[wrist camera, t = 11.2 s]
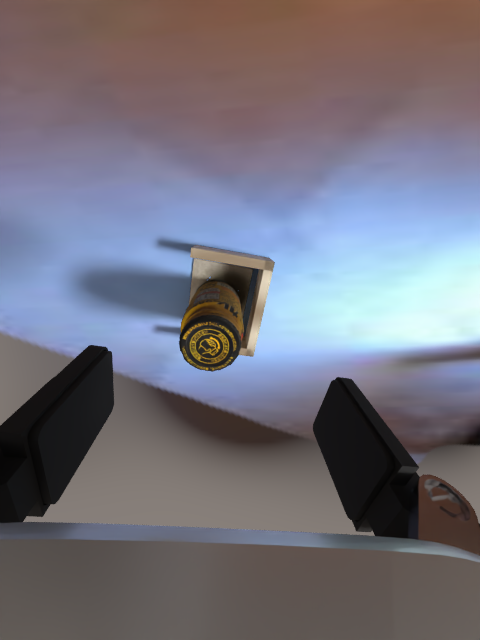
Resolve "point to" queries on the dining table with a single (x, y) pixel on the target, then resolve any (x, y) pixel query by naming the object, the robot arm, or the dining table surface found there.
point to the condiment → (214, 315)
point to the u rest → (260, 290)
